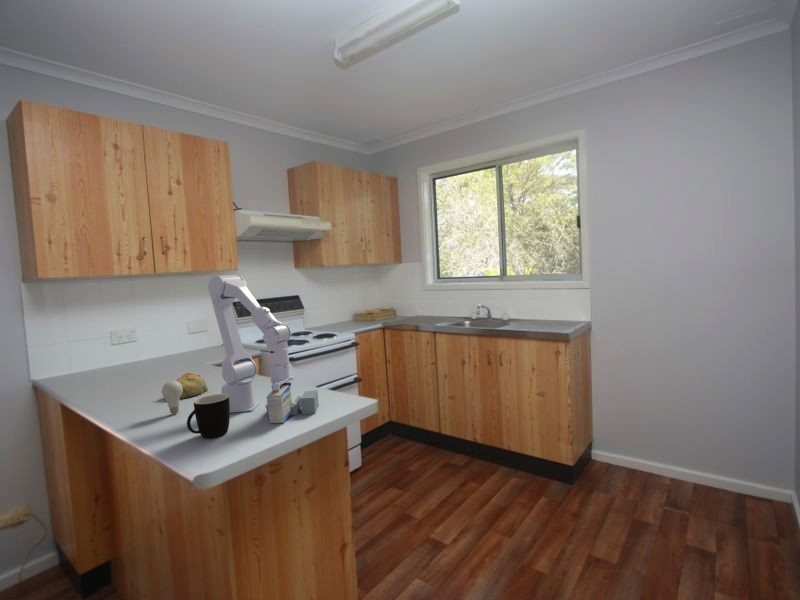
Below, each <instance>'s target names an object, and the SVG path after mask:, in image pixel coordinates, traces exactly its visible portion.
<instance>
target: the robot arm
mask: <svg viewBox="0 0 800 600" xmlns="http://www.w3.org/2000/svg"><path fill="white" fill-rule="evenodd" d="M207 288H208V293H209V296H210V299H211V303H212V307H213V312H214V314H215V318H216V321H217V325H218V329H219V333H220V337H221V339H222V343H223V347H224V351H225V353H226V355H225V357H224V359H223V360H222V361H221V368H222V370H221V371H222V373H221V374H222V375H221V376H222V379H223V381H224V382H225V383H223V384H222V386H221V393H220V394H227V395H228V396H229V403H230V413H242V412H243V413H244V412H245V413H246V412H252V411H253V410H254V409H255V408H256V407H257V406H258V405H259V402H257V401H255V395H254V394H255V391H254V384H253V383H254V381H253V380H255V376H256V375H257V373H258V367H257V364H256V362H255V361H254V359H253V357H252V354H251V353H249V352H247V351H245V350H244V346H243V342H242V338H241V335H240V331H239V329H238V325H237V322H236V319H235V315H234V311H233V308H232V305H233V303H234V301H235V300H238V301H239V302H240V304H242V305H243V307H244V308H246V309H247V310H248V311H249V312H250V313H251V314H250V315H251V316H250V319H251V321H252V322H253V323H254V324H255V325H256V327H257V328H258V329H259V330H260V331H261V333H262V334H263V335H262V339H263V342H264V343H265V345H266V350H267V351H268V359H269V369H270V370H269V371H270V372H269V373H270V383H271V389H272V390H273V391H276V390H280V386H281V385H289V386H290V387H291V386H292V383H291V382H289V381H293V380H294V379H295V376H293V375H291V370H290V359H289V348H288V347H289V346H288V341H289V340H290V338H291V335H292V334H291V329H290V327H289V326H288V324H286V323H282V322H281V321H279V320H278V319H277V318H276V316H274V314H273V313H271V309H270V308H268V307H266V306H261V305H260V303H259V302H258V301H257V299H256V298H255V297H254V295H253V294H252V292H251V291H250V290H249V288H248V283H247V281H246V280H245V279H244V277H243V276H242V275H241V274H238V273H237V274H231V275H230V274H229V275H228V274H227V275H226V274H225V275H217V274H216V275H213V276H212V277H210V280H209V281H208V284H207Z"/></svg>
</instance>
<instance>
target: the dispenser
mask: <svg viewBox="0 0 800 600" xmlns="http://www.w3.org/2000/svg"><path fill="white" fill-rule="evenodd" d="M264 407H265V408H266V417H267V418H269V411H268V404H265V405H264ZM292 407H293V411H292V413H291V414H290V415H289V416H290V417H291V416H298V414H299V412H300V411H301V415H312V414H313V415H314V414H316V413H317V410H318V408H319V392H318V390H317V389H316V390H315V389H313V390H305V391H304V393H302V396H301V395H298V396H297V397H296V398H295V400H294V401H293V402H292Z"/></svg>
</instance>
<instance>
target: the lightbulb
mask: <svg viewBox="0 0 800 600" xmlns="http://www.w3.org/2000/svg"><path fill="white" fill-rule="evenodd" d="M182 392H183V387H182V385H181V384H180V383H179V382H177V380H170V381H167V382H166V383H164V384H163V385H162V387H161V395H162V397H163V398H164V399H165V400H166V402H167V405H168V406H167V407H168V408H169V413H170V414H172V415H177V413H179V412H180V408H179V407H180V399H181V398H180V397H181V394H182Z"/></svg>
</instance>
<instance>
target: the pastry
mask: <svg viewBox="0 0 800 600" xmlns="http://www.w3.org/2000/svg"><path fill="white" fill-rule="evenodd" d="M176 381H177V382H179V383H180V384H181V385H182V387H183V392H182V394H181V397H180V399H185V398H186V399H187V398H190V397H195V396H198V395H199V396H200V395H201V396H202V394H204V393H206V392H208V390H209V389H208V386H207V383H206V381H205V378H204V377H202V376H201V375H199V374H195V373H191V372H188V373H184V374H183V375H181V377H178V378H177V379H176Z"/></svg>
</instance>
